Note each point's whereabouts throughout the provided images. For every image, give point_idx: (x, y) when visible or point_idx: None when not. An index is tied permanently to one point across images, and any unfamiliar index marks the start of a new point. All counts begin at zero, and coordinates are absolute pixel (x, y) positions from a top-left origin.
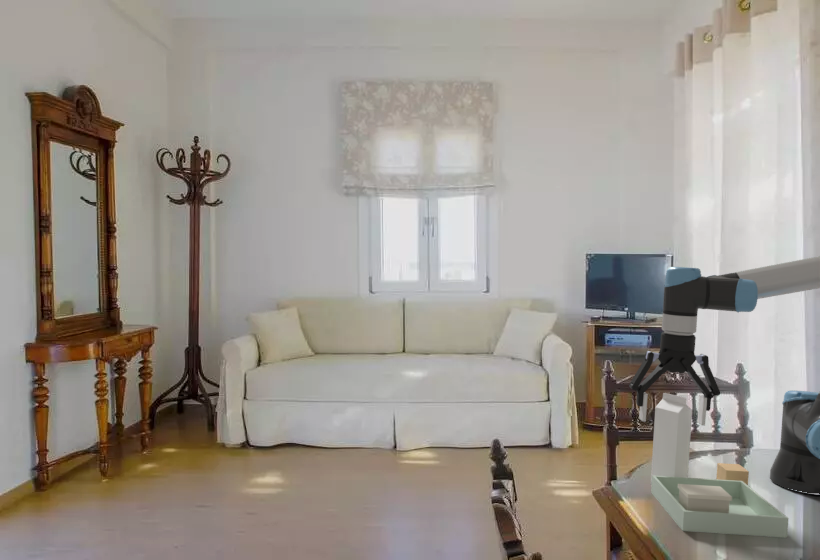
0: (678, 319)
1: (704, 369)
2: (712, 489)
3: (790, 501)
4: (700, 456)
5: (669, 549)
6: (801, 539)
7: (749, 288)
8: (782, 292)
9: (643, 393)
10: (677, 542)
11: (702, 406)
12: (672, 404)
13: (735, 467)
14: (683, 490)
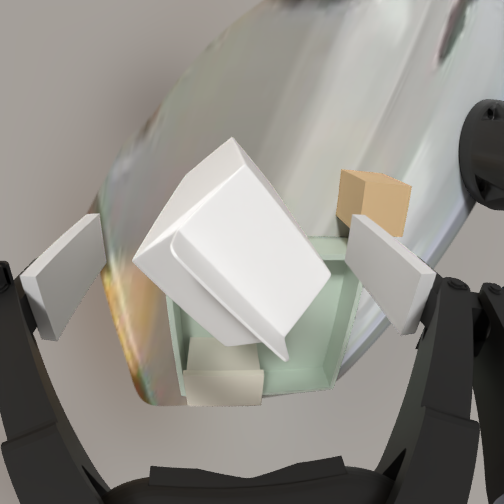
0: None
1: (489, 467)
2: (241, 388)
3: (433, 229)
4: None
5: (158, 400)
6: (347, 358)
7: None
8: None
9: (36, 325)
10: (171, 388)
11: (380, 297)
12: (217, 301)
13: (390, 211)
14: (186, 392)
